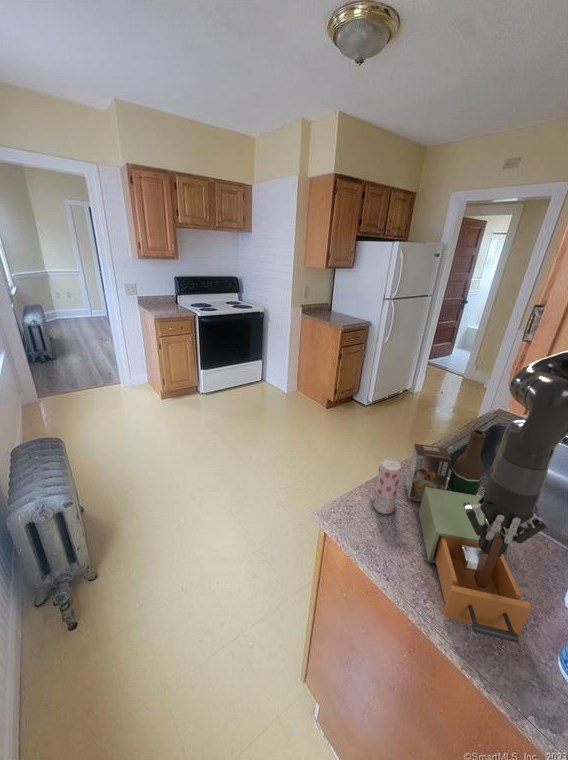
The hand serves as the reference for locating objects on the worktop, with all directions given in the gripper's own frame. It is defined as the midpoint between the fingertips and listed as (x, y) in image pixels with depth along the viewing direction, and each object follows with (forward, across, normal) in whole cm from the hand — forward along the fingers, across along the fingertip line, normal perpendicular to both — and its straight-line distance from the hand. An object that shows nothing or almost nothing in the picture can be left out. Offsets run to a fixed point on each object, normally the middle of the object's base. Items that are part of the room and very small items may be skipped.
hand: (490, 551), depth 62 cm
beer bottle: (+15, +5, +32) cm, 35 cm away
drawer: (+14, 0, 0) cm, 14 cm away
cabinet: (+15, 0, +16) cm, 22 cm away
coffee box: (+15, -5, +32) cm, 35 cm away
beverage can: (+15, -17, +24) cm, 33 cm away
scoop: (+9, 0, +2) cm, 9 cm away
